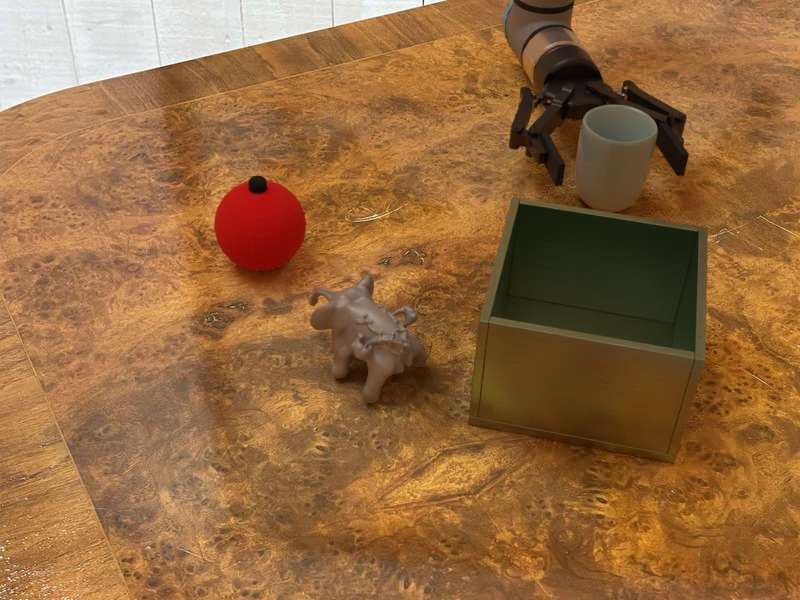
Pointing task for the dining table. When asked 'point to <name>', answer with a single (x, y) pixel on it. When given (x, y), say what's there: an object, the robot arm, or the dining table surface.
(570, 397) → the bin
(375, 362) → the clay animal figurine
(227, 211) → the ornament
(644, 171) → the cup
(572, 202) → the dining table surface
